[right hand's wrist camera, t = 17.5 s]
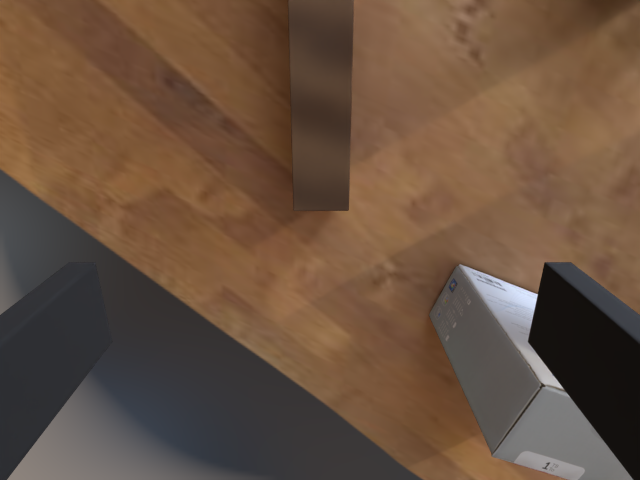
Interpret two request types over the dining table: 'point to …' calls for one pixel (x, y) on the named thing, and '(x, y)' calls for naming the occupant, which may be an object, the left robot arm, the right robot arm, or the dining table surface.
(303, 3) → the bar
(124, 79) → the dining table surface
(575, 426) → the hard drive box
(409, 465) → the dining table surface
